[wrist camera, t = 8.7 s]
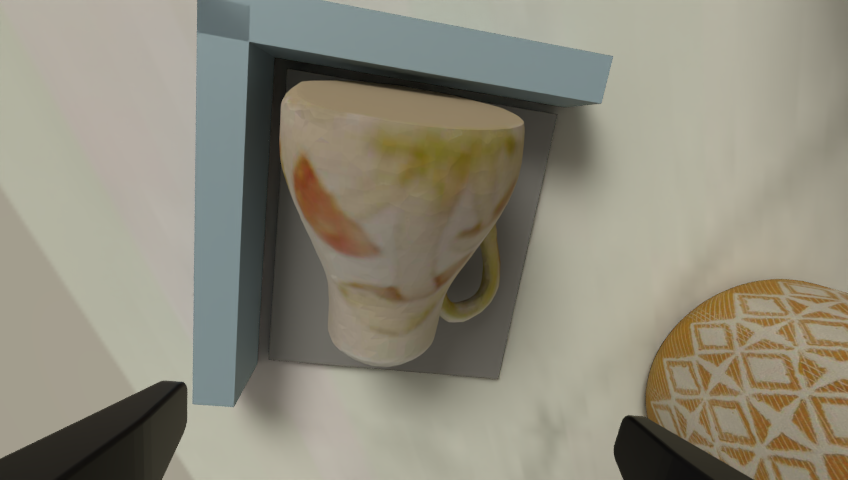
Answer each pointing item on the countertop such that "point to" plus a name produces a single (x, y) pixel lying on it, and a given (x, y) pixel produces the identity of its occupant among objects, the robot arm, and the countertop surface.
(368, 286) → the mug
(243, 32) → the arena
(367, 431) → the countertop surface
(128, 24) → the countertop surface
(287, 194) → the mat
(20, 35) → the countertop surface
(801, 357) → the planter
